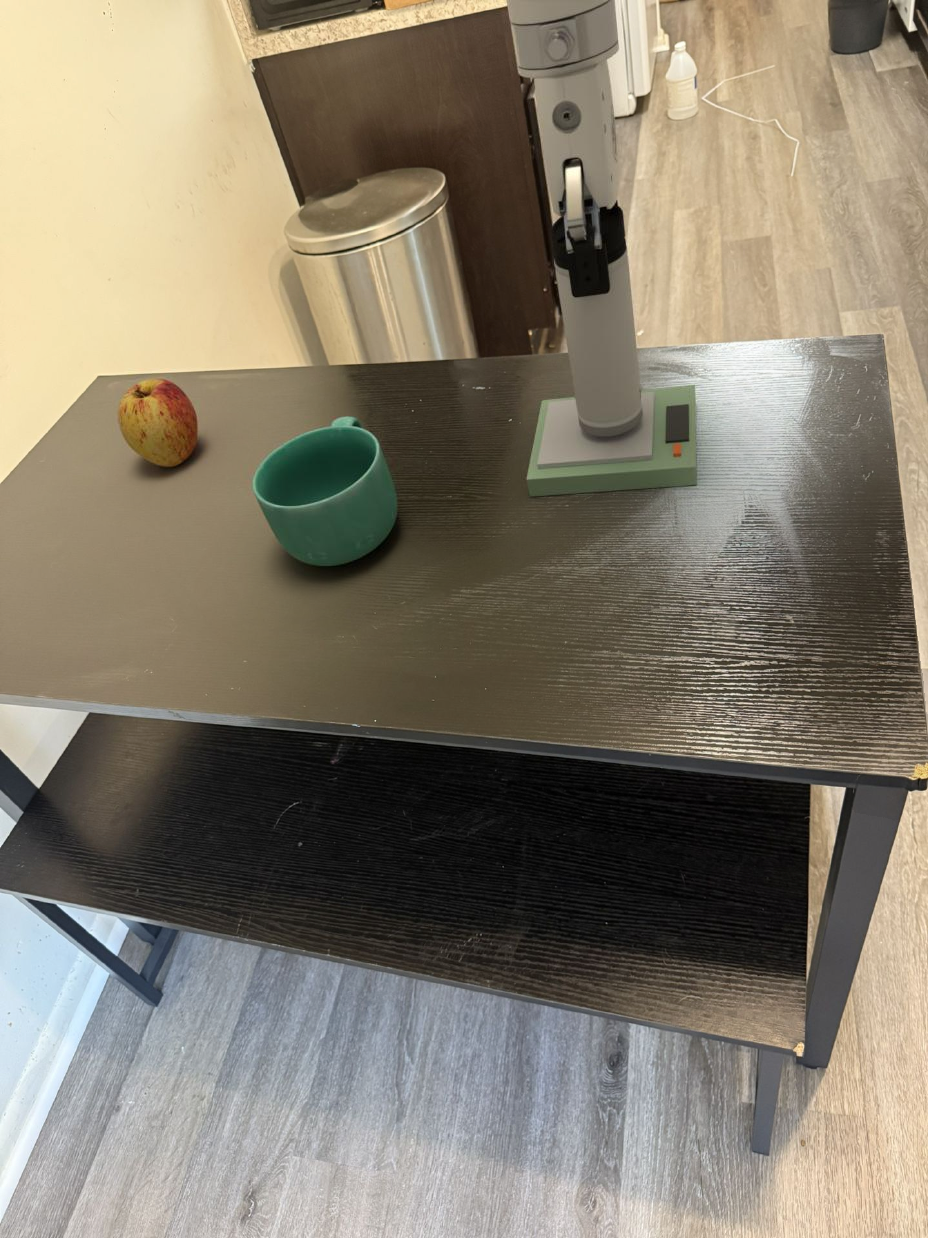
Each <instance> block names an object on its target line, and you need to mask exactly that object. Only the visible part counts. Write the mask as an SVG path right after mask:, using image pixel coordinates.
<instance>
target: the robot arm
mask: <svg viewBox="0 0 928 1238" xmlns="http://www.w3.org/2000/svg"><path fill="white" fill-rule="evenodd" d="M506 6H507V12H508V17H509V18H508V19H509V24H510V30H511V37H512V43H513V49H514V56H515V62H516V68H517V73H518V75H519V76H521V77H523V78H527V79H533V84H534V91H535V99H536V112H537V114H538V124H539V131H540V138H541V145H542V152H543V158H544V159H543V160H544V165H545V172H546V179H547V185H548V190H549V195H550V201H551V205H552V210H553V212H554V213H555V214H556V215H557V216H559V217H562V216H564V226H565V237H566V248H567V249H566V257H567V264H568V271H569V278H570V285H571V292H572V296H573V297H575V298H578V297H586V296H593V295H600V294H607V293H608V292H609V291H610V279H609V270H608V261H607V252H606V243H604V244H602V239H601V225H600V208H599V207H605V206H607V209H611V208H612V207H613V206H614V204H615V203H616V200H617V201H618V194H619V186H620V179H621V159H620V149H619V144H618V135H617V125H616V117H615V109H614V100H613V91H612V82H611V76H610V70H609V65H608V63H609V62H608V60H610V59H611V58H612V57H614V55H616V54H617V53H618V52H619V50H620V44H619V33H618V21H617V11H616V10H617V9H616V0H506ZM592 203H593V206H589V207H584V205H587V204H592ZM590 215H592V225H593V227H591V225H590V223H586V218H585V216H590Z"/></svg>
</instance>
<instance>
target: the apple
mask: <svg viewBox="0 0 928 1238" xmlns="http://www.w3.org/2000/svg"><path fill="white" fill-rule="evenodd" d="M117 424H118V427H119V430H120V432H121V435H122V437H123V439H124V441H125V442H126V444H127V445H128V446H129V447H130V448H131V449H132V450H133V451H134V452H135V453H136V454H137V455H139V456H140V457H141V458H143V459H145V460H146V461H147V462H150V463H152V464H154V465H156V466H159V467H164V468H172V467H176V466H178V465H181V464H182V463H183V462H184V461H185V460H187V459H188V458H190V456H191V454H192V453H193V451H194V450H195V447H196V445H197V442H198V434H199V431H198V430H199V429H198V425H199V424H198V417H197V413H196V410H195V407H194V405H193V403H192V401H191V400H190V398H189V397H188V395H187V393H185V391H184V390H183V389H182V388H181V387H180V386H178V385H177V384H176V383H174V382H173V381H170V380H167V379H163V378H149V379H144V380H142V381H138V382H137V383H136V384H134V385H133V386H132V387H131V388H129V389H128V390H127V391H126V393H125V394H124V395H123V396H122V398H121V400H120V402H119V404H118V407H117Z"/></svg>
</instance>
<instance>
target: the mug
mask: <svg viewBox="0 0 928 1238" xmlns="http://www.w3.org/2000/svg"><path fill="white" fill-rule="evenodd" d="M330 424H331V425H330V426H326V427H322V428H321V427H320V428H317V429H314V430H313V429H312V430H310V431H307V432H305V433H302V434H300V435H298V436H296V437H294V438H291V439H290V440H287V441H286V442H285V443H283V444H281V445H280V446H278V447H277V448H275V449H274V450H273V451H272V452H271V453H269V455H268V456H266V457H265V458H264V460H263V461H262V462H261V463H260V464H259V466H258V467H257V469H256V471H255V473H254V474H253V475H254V476H253V479H252V491H253V494H254V496H255V498H256V501H257V503H258V505H259V507H260V509H261V511H262V514H263V515H264V517H265V520H266V521H267V524H268V525H269V528H270V530H271V531H272V533H273V535H274V536H275V538H276V540H277V541H278V543H279V544H280V545H281V546H282V548H283V549H284V551H286V553H288V554H289V555H290V556H291V557H293V558H294V559H296V560H298V561H300V562H302V563H305V564H308V565H311V566H318V567H331V566H332V567H334V566H339V565H343V564H347V563H351V562H353V561H355V560H359V559H361V558H362V557H365V556H366V555H368V554H369V553H370V552H372V551H374V550H375V549H376V548H378V546H379V545H381V544H382V543H383V542H384V540H386V538H387V537H388V535H389V534H390V532H391V531H392V529H393V527H394V525H395V523H396V519H397V515H398V509H399V508H398V505H399V504H398V503H399V502H398V496H397V495H398V494H397V491H396V488H395V484H394V480H393V477H392V475H391V472H390V469H389V466H388V463H387V461H386V458H385V455H384V453H383V450H382V448H381V444H380V443H379V441H378V439H377V437H376V436H375V435H374V434H373V433H372V432H370V431H368V430H367V429H364V428H363V425H362V423H361V422H360V420H359V419H357V418H356V417H354V416H341V417H337V418H336V419H334V420H333V421H332V422H331V423H330Z"/></svg>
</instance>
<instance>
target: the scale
mask: <svg viewBox="0 0 928 1238" xmlns="http://www.w3.org/2000/svg"><path fill="white" fill-rule="evenodd" d="M641 401H642V410H643V416H642V419H641V420H640V422H639V423H638V424H637V425H636V426H635V427H634V428H632V429H631V430H629V431H627V432H625V433H622V434H619V435H615V436H605V437H603V436H595V435H591V434H589V433H587V432H585V431H584V430H583V429H582V428H581V427H580V424H579V419H578V411H577V406H576V400H575V396H572V397H571V396H570V397H562V398H561V397H560V398H553V399H552V398H551V399H542V400H541V403H540V408H539V413H538V414H539V415H538V417H537V418H538V419H537V423H536V429H535V434H534V438H533V443H532V448H531V453H530V459H529V464H528V468H527V474H526V479H525V480H526V485H527V489H528V494H529V497H530V498H533V497H544V496H546V497H547V496H548V497H549V496H561V495H574V494H587V493H588V494H589V493H590V494H591V493H602V492H615V491H618V492H619V491H630V490H644V489H645V490H646V489H657V488H658V489H659V488H671V487H687V486H697V485H698V463H697V458H698V457H697V411H696V410H697V407H696V405H697V403H696V385H695V384H688V385H677V386H669V387H660V388H649V389H648V388H647V389H641Z"/></svg>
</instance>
